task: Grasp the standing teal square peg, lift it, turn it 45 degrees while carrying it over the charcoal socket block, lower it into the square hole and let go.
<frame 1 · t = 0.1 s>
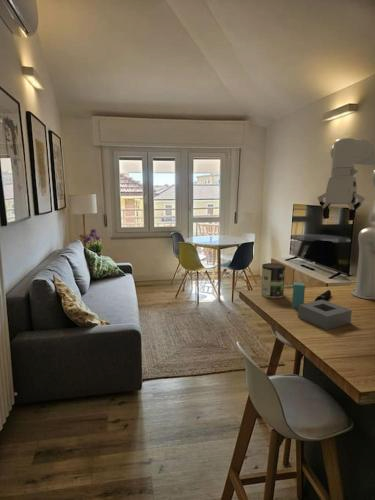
hand: (338, 219, 122), 37 cm above the table, tool pointing down, fingers open, 9 cm apart
peg: (297, 306, 135), on the table
electric trimmer: (322, 300, 144), on the table
coffee can: (272, 295, 150), on the table
socket: (323, 320, 121), on the table
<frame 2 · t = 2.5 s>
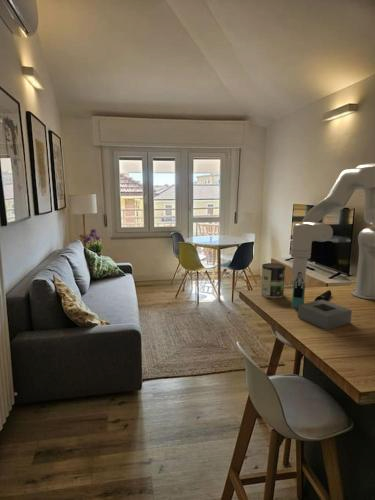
hand: (297, 293, 133), 6 cm above the table, tool pointing down, fingers open, 9 cm apart
nothing on the table moved.
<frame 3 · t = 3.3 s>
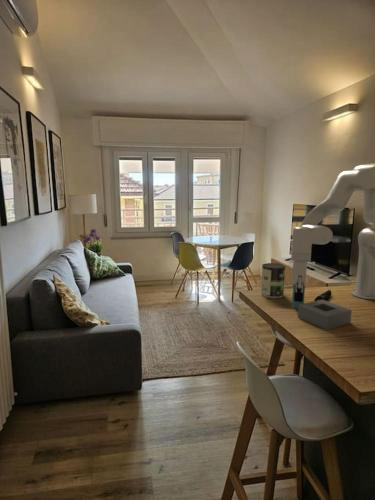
hand: (298, 299, 134), 3 cm above the table, tool pointing down, fingers closed on peg, 4 cm apart
peg: (297, 306, 135), on the table, touching gripper
everything else where it was.
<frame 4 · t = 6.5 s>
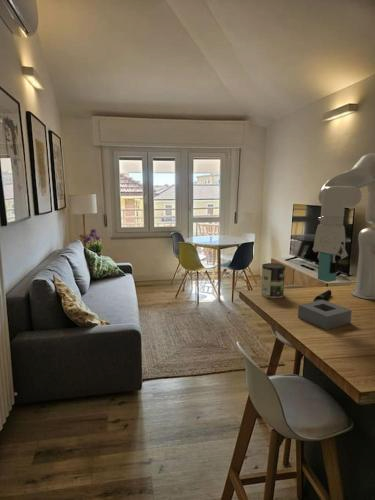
hand: (327, 270, 117), 19 cm above the table, tool pointing down, fingers closed on peg, 4 cm apart
peg: (326, 279, 118), point 16 cm above the table, touching gripper
everything else where it was.
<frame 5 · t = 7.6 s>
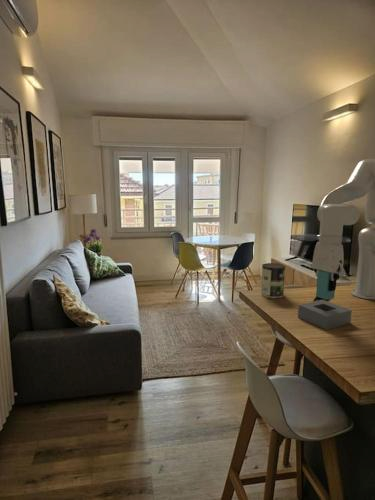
hand: (325, 288, 118), 13 cm above the table, tool pointing down, fingers closed on peg, 4 cm apart
peg: (325, 297, 119), point 9 cm above the table, touching gripper
everything else where it was.
when the fingers open (6 cm above the table, at t = 9.7 s): peg drops 3 cm, resting in socket.
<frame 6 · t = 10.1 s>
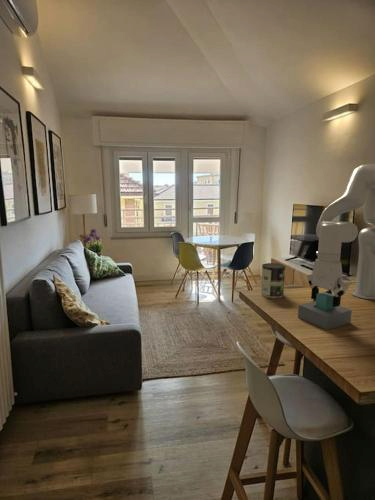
hand: (325, 302, 119), 7 cm above the table, tool pointing down, fingers open, 9 cm apart
peg: (323, 320, 121), resting in socket
everything else where it was.
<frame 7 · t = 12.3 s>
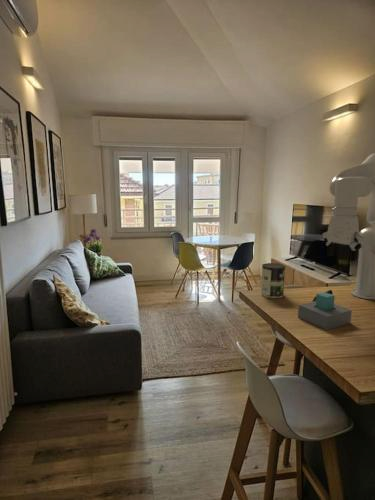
hand: (341, 258, 119), 23 cm above the table, tool pointing down, fingers open, 9 cm apart
nothing on the table moved.
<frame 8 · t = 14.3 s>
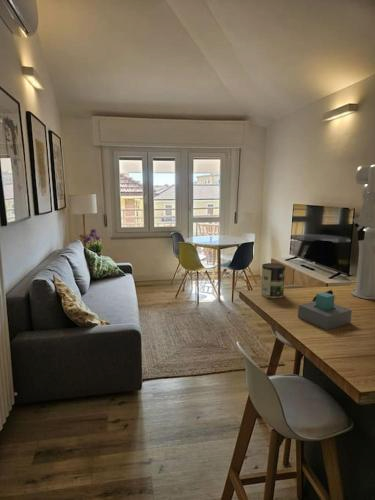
hand: (372, 242, 125), 28 cm above the table, tool pointing down, fingers open, 9 cm apart
nothing on the table moved.
at the end: peg 0.1 cm off-centre on the socket, point 0.0 cm above the socket's base; peg tilted 0°; the gripper is holding nothing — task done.
